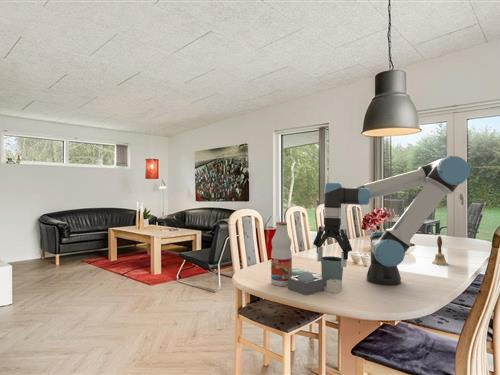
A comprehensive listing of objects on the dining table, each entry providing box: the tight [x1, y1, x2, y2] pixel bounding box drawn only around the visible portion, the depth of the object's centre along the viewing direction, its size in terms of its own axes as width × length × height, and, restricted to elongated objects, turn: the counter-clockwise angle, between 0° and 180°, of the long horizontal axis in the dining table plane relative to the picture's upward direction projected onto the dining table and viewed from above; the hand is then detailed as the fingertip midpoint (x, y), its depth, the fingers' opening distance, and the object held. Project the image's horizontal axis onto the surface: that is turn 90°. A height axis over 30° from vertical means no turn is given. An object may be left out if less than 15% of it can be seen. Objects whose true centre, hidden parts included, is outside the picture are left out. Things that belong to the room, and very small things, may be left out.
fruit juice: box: [270, 221, 293, 287], centre depth 158 cm, size 9×9×28 cm
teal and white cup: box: [320, 255, 344, 288], centre depth 156 cm, size 10×10×12 cm
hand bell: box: [431, 235, 449, 266], centre depth 200 cm, size 8×8×16 cm
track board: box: [292, 267, 322, 278], centre depth 170 cm, size 24×13×1 cm, turn 37°
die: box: [326, 279, 342, 294], centre depth 147 cm, size 4×4×5 cm
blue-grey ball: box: [298, 270, 314, 282], centre depth 149 cm, size 7×7×7 cm
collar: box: [287, 275, 325, 296], centre depth 149 cm, size 11×11×5 cm
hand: (331, 263), depth 156 cm, fingers open, 13 cm apart
